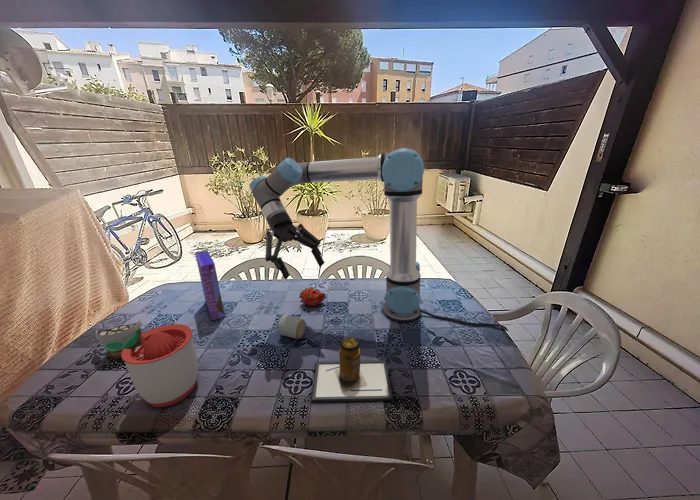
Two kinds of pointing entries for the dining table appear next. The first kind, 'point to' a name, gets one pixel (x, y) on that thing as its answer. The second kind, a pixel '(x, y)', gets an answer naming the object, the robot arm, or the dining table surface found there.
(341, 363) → the condiment
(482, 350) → the dining table surface
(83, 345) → the dining table surface
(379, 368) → the whiteboard
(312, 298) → the dragon fruit
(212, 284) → the cereal box
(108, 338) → the food container
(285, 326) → the ceramic mug
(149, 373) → the citrus juicer
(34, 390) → the dining table surface
